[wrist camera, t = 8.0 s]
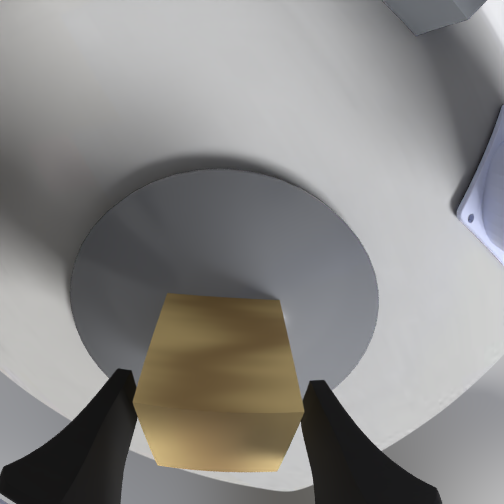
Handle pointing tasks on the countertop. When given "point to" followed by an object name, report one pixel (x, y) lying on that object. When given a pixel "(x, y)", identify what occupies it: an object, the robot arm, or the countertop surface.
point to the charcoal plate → (226, 268)
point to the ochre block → (219, 385)
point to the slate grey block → (432, 12)
